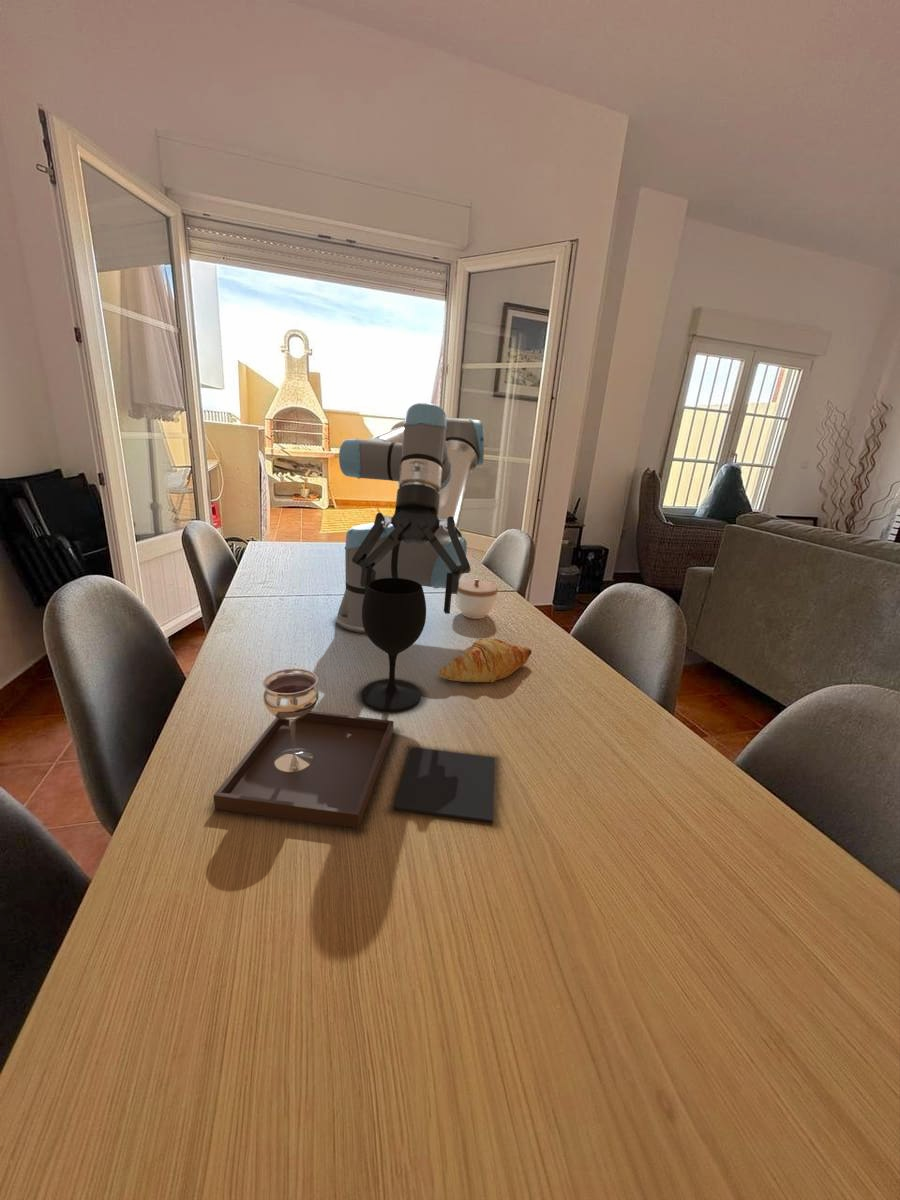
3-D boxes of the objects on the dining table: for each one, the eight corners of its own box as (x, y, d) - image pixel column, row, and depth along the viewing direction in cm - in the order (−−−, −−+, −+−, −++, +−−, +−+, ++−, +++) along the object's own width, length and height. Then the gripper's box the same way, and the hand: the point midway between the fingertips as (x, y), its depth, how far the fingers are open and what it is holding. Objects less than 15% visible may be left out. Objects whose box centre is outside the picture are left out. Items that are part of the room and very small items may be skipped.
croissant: (447, 706, 88) (461, 681, 82) (424, 662, 93) (435, 636, 88) (534, 679, 99) (551, 656, 93) (509, 642, 104) (524, 618, 99)
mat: (411, 749, 70) (411, 747, 70) (493, 759, 69) (494, 757, 69) (393, 809, 58) (394, 807, 58) (492, 822, 58) (492, 820, 57)
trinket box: (496, 623, 119) (500, 587, 116) (452, 620, 119) (455, 584, 116) (492, 608, 129) (496, 575, 126) (453, 605, 129) (455, 572, 126)
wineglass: (255, 764, 63) (249, 684, 60) (293, 738, 69) (290, 663, 65) (294, 783, 61) (291, 700, 57) (330, 754, 66) (329, 677, 63)
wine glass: (412, 716, 78) (418, 600, 71) (351, 705, 79) (351, 591, 73) (427, 686, 87) (434, 580, 81) (373, 677, 89) (375, 573, 82)
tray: (284, 718, 75) (283, 707, 74) (393, 732, 73) (393, 720, 73) (214, 809, 56) (213, 795, 56) (358, 828, 55) (358, 814, 55)
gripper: (343, 479, 82) (327, 600, 79) (489, 485, 80) (480, 611, 76) (356, 495, 90) (342, 608, 86) (490, 502, 87) (481, 618, 84)
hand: (406, 609), depth 81 cm, fingers open, 13 cm apart
